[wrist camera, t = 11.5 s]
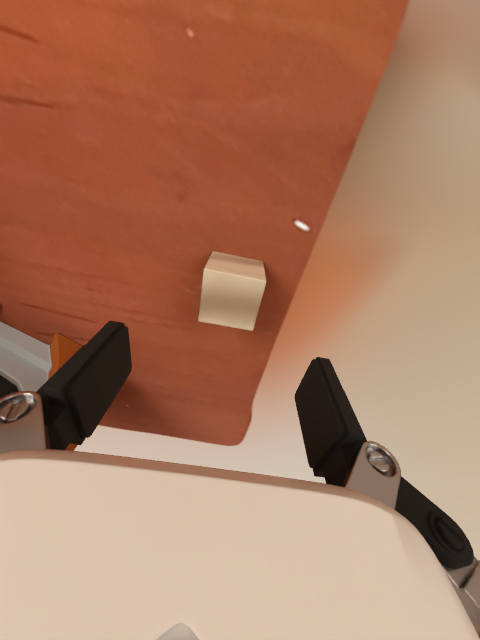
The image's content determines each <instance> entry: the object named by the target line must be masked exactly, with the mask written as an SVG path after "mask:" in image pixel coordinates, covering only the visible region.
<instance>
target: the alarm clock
mask: <svg viewBox="0 0 480 640" xmlns="http://www.w3.org/2000/svg"><path fill="white" fill-rule="evenodd" d="M0 309H1V304H0ZM81 347H82V346H81V345H79V344H77V343H76V342H74V341H72V340H70V339H68V338H66V337H64V336H62V335H60V334H58V333H55V334H54V336H53V338H52V340H51V342H50V345H47V344H45V343H43V342H41V341H39V340H37V339H35V338H33V337H31V336H29V335H27V334H25V333H23V332H21V331H19V330H17V329H15V328H13V327H11V326H9V325H7V324H4V323H2V322H0V398H2V397H4V396H6V395H9V394H12V393H15V392H19V391H33V392H36V391H37V390H38V389H39V388H40V387H41V386H42V385H43V384H44V383H45V382H46V381H47V380H48V379H49V378H50V377H51V376H53V375H54V374H55V373H56V372H57V371H58V370H59V369H60V368H61V367H62V366H63V365H64V364H65V363H66V362H67V361H68V360H69V359H70V358H71V357H72V356H73V355H74V354H75V353H76V352H77V351H78V350H79V349H80V348H81ZM76 446H77V445H76V444H69V445H68V447H67V448H66V450H69V451H74V449H75V448H76Z"/></svg>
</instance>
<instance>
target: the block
mask: <svg viewBox="0 0 480 640" xmlns="http://www.w3.org/2000/svg"><path fill="white" fill-rule="evenodd" d="M266 282H267V281H266V276H265V270H264V264H263V261H260V260H255V259H250V258H245V257H240V256H235V255H230V254H225V253H220V252H216V251H213V252H212V254H211V256H210V258H209V260H208V262H207V264H206V266H205V268H204V272H203V281H202V290H201V300H200V309H199V318H198V321H199V322H205V323H210V324H216V325H222V326H227V327H233V328H239V329H244V330H250V331H253V328H254V325H255V321H256V318H257V314H258V311H259V307H260V303H261V300H262V296H263V293H264V289H265V286H266Z"/></svg>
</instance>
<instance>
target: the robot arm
mask: <svg viewBox="0 0 480 640" xmlns="http://www.w3.org/2000/svg"><path fill="white" fill-rule="evenodd" d="M131 369H132V363H131V353H130V343H129V333H128V327H126V326H125V325H124V323H121V322H115V321H109V322H108V323H107V324H106V325H105V326H104V327H103V328H102V329H101V330H100V331H99V332H98V333H97V334H96V335H95V336H94V337H93V338H92V339H91V340H90V341H89V342H88V343H87V344H86V345H84V346H82V347H81V348H80V349H79V350H78V351H77V352H76V353H75V354H74V355H73V356H72V357H71V358H70V359H69V360H68V361H67V362H66V363H65V364H64V365H63V366H62V367H61V368H60V369H59V370H58V371H57V372H56V373H55V374H54V375H53V376H51V377H50V378H49V379H48V380H47V381H46V382H45V383H44V384H43V385H42V386H41V387H40V388H39V389H38V390H37V391H36V392H33V391H19V392H15V393H12V394H9V395H6V396H4V397H2V398H0V640H480V560H479V561H478V560H477V559H476V558H475V557H474V554H473V549H472V547H471V545H470V542H469V540H468V539H467V537H466V535H465V534H464V532H463V531H462V530H461V528H460V527H459V526H458V525H457V524H456V522H454V521H453V520H452V519H451V518H450V517H449V516H448V515H447V514H446V513H445V512H443V511H442V510H441V509H440V508H439V507H437V506H436V505H435V504H434V503H433V502H431V501H430V500H429V499H428V498H426V497H425V496H424V495H423V494H422V493H421V492H419V491H418V490H417V489H416V488H415V487H413V486H412V485H411V484H410V483H408V482H407V481H406V480H405V479H404V478H403V477H401V470H400V467H399V464H398V462H397V460H396V459H395V457H394V456H393V455H392V454H391V453H390V452H389V451H388V450H387V449H386V448H385V447H383V446H382V445H380V444H378V443H376V442H372V441H367V440H366V437H365V435H364V433H363V431H362V429H361V426H360V425H359V422H358V420H357V418H356V416H355V413H354V411H353V409H352V407H351V405H350V403H349V401H348V398H347V396H346V394H345V392H344V390H343V388H342V386H341V384H340V381H339V379H338V377H337V375H336V373H335V371H334V368H333V366H332V364H331V362H330V360H329V359H326V358H320V357H317V358H316V359H313V360H312V361H311V363H310V365H309V367H308V369H307V371H306V373H305V375H304V377H303V379H302V381H301V383H300V385H299V387H298V389H297V391H296V393H295V402H296V407H297V411H298V415H299V421H300V425H301V430H302V435H303V439H304V444H305V449H306V454H307V458H308V463H309V466H310V467H311V468H313V472H314V476H319V477H325V480H326V484H323V483H316V482H310V481H304V480H297V479H291V478H283V477H276V476H269V475H261V474H254V473H247V472H239V471H231V470H224V469H216V468H209V467H201V466H193V465H185V464H178V463H170V462H162V461H154V460H146V459H137V458H130V457H122V456H114V455H106V454H97V453H86V452H78V451H69V450H66V448H67V447H68V445H69V444H76V445H81V444H82V443H83V441H84V440H85V438H86V437H87V438H88V437H90V436H91V435H92V433H93V431H94V430H95V429H96V427H97V425H98V424H99V422H100V420H101V419H102V417H103V416H104V414H105V412H106V411H107V409H108V408H109V406H110V404H111V403H112V401H113V400H114V398H115V396H116V395H117V393H118V392H119V390H120V388H121V387H122V385H123V383H124V382H125V380H126V379H127V377H128V375H129V374H130V372H131Z"/></svg>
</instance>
